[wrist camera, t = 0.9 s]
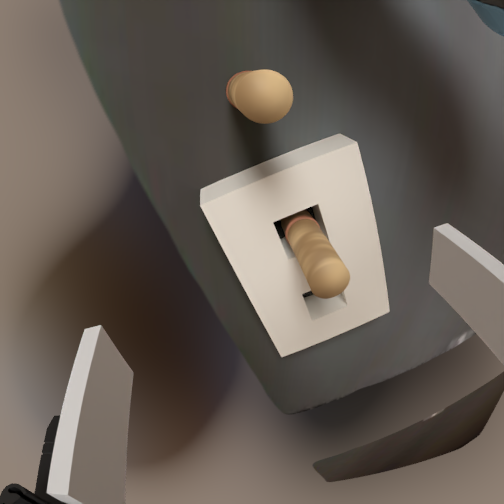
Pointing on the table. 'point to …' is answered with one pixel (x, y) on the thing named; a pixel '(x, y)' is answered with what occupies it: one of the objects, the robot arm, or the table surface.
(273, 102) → the honey-oak peg
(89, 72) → the table surface
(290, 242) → the seated peg
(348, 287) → the off-white board
